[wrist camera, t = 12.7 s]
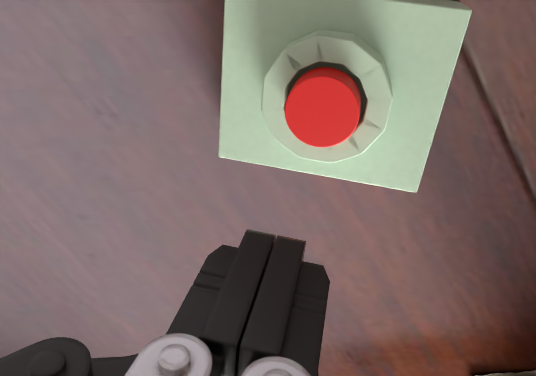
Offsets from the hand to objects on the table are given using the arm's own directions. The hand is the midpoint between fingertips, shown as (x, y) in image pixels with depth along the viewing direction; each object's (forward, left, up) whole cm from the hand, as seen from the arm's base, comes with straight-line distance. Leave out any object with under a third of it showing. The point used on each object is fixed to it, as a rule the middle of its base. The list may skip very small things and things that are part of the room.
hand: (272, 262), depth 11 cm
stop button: (0, 0, -13) cm, 13 cm away
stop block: (0, 0, -18) cm, 18 cm away
